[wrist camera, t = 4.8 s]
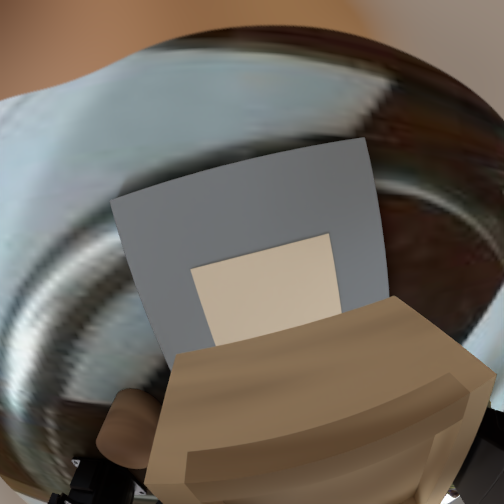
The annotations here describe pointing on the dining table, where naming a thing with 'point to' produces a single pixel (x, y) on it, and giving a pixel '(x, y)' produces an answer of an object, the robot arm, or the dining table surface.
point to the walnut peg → (130, 429)
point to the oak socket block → (321, 414)
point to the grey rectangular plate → (255, 245)
